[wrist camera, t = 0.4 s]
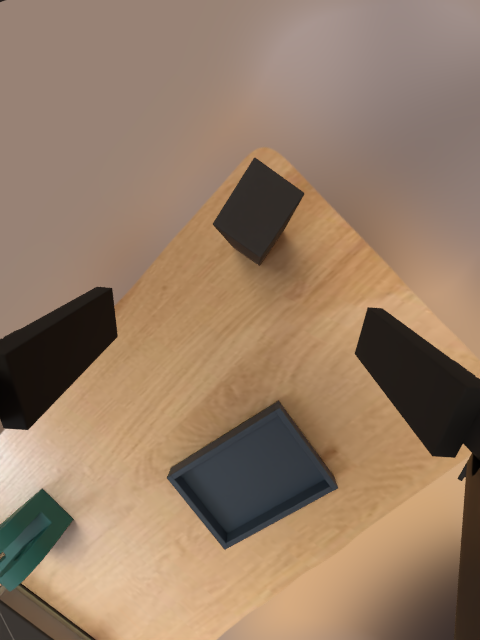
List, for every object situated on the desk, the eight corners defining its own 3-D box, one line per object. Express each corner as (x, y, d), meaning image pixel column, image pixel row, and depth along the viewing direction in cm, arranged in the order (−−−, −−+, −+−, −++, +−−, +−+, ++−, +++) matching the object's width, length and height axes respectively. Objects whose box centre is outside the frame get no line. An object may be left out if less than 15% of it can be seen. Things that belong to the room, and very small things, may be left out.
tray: (278, 400, 36) (279, 407, 34) (334, 476, 37) (338, 488, 35) (171, 467, 39) (166, 477, 37) (226, 536, 40) (224, 550, 38)
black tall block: (259, 265, 33) (260, 258, 18) (232, 247, 33) (212, 224, 18) (283, 230, 32) (305, 193, 17) (256, 211, 32) (254, 156, 17)
